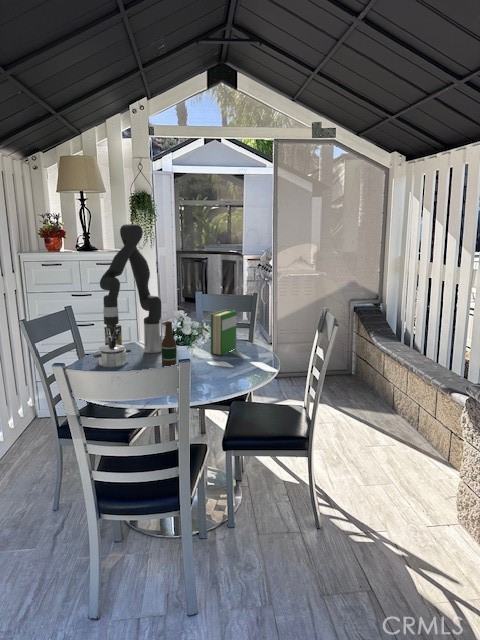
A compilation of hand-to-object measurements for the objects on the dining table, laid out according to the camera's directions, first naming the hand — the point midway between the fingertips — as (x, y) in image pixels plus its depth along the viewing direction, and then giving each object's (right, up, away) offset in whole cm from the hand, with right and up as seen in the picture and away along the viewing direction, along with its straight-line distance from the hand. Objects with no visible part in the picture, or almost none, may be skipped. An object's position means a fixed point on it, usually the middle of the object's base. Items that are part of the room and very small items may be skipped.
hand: (112, 346), depth 245 cm
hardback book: (+58, -5, +28) cm, 65 cm away
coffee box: (-5, -5, +21) cm, 22 cm away
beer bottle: (+31, -10, -2) cm, 33 cm away
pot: (0, -9, +2) cm, 9 cm away
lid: (0, -2, 0) cm, 2 cm away
